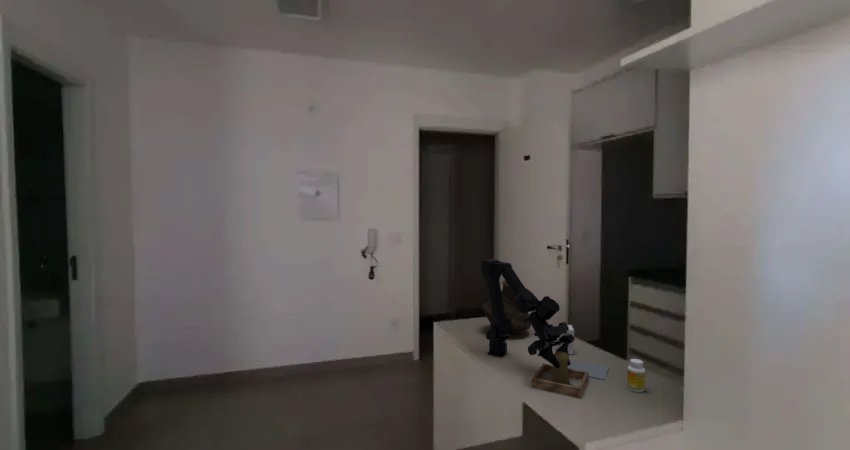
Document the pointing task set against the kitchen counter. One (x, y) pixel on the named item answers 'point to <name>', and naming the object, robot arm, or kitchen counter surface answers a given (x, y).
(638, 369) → the supplement bottle
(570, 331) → the small box
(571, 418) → the kitchen counter surface
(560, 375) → the cork
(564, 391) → the walnut frame
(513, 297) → the ceramic pot
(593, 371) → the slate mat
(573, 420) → the kitchen counter surface
